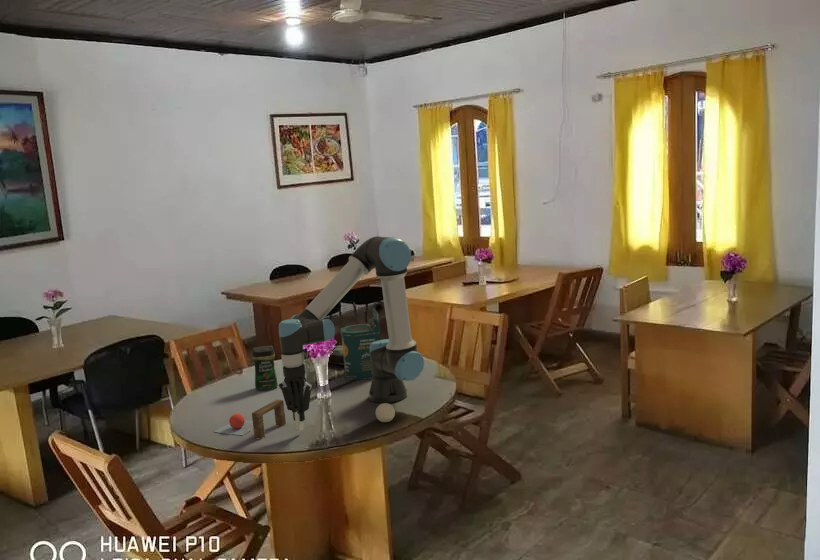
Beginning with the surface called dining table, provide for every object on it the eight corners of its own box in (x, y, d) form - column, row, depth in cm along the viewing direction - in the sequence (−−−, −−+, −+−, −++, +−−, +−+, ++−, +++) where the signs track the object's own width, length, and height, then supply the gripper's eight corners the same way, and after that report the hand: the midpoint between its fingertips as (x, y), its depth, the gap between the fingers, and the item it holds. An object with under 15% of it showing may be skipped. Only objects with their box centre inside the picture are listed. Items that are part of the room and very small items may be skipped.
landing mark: (264, 422, 260) (264, 422, 259) (242, 435, 248) (242, 435, 248) (236, 419, 265) (236, 419, 265) (213, 432, 254) (213, 431, 254)
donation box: (384, 376, 307) (378, 314, 302) (347, 381, 304) (341, 318, 299) (377, 366, 322) (372, 307, 318) (343, 371, 319) (337, 311, 315)
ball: (234, 421, 259) (245, 428, 258) (224, 426, 254) (236, 433, 253) (237, 409, 258) (249, 415, 256) (228, 413, 253) (240, 420, 251)
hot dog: (318, 364, 334) (317, 348, 332) (336, 358, 342) (334, 343, 341) (345, 369, 322) (343, 353, 320) (362, 363, 330) (361, 347, 329)
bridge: (285, 424, 256) (283, 400, 255) (261, 439, 243) (258, 413, 242) (279, 423, 258) (276, 399, 256) (254, 438, 245) (251, 413, 243)
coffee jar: (255, 392, 297) (250, 350, 294) (255, 387, 305) (251, 345, 302) (278, 389, 299) (274, 347, 296) (278, 384, 307) (273, 343, 304)
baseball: (384, 426, 246) (382, 408, 245) (373, 421, 252) (371, 404, 251) (399, 421, 250) (398, 403, 249) (388, 416, 256) (386, 399, 255)
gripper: (315, 362, 241) (321, 427, 245) (284, 360, 247) (291, 424, 251) (303, 368, 235) (309, 435, 238) (271, 366, 240) (278, 431, 244)
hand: (300, 429), depth 245 cm, fingers closed
